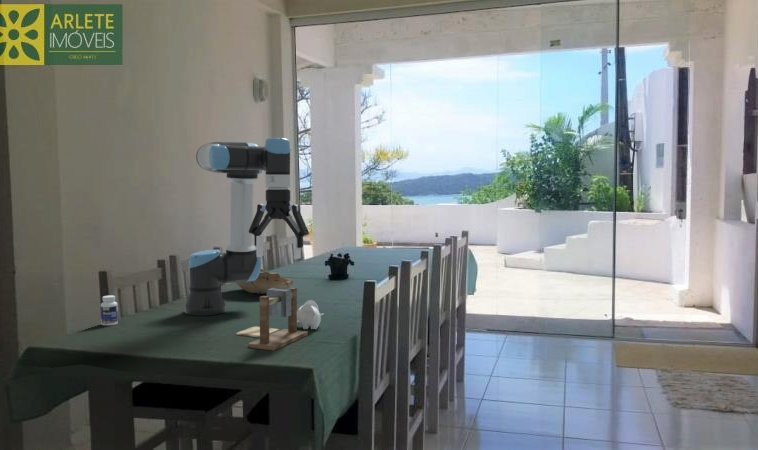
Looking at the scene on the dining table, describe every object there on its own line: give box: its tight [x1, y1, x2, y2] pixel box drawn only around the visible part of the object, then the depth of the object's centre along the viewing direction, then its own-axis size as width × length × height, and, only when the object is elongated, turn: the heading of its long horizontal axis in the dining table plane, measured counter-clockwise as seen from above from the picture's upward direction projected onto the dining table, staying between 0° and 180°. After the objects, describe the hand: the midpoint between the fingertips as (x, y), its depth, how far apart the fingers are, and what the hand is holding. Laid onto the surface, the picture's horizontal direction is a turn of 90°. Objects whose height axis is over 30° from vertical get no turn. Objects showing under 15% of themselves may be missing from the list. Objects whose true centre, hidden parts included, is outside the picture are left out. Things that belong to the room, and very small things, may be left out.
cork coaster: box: [236, 326, 280, 339], centre depth 200 cm, size 10×10×1 cm
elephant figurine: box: [297, 299, 325, 330], centre depth 207 cm, size 10×12×9 cm
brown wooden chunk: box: [236, 268, 294, 295], centre depth 274 cm, size 30×27×15 cm
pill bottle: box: [100, 294, 119, 326], centre depth 210 cm, size 5×5×10 cm
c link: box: [266, 288, 291, 318], centre depth 189 cm, size 7×3×8 cm, turn 67°
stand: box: [247, 287, 309, 352], centre depth 189 cm, size 20×9×15 cm, turn 157°
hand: (278, 257), depth 188 cm, fingers open, 13 cm apart
